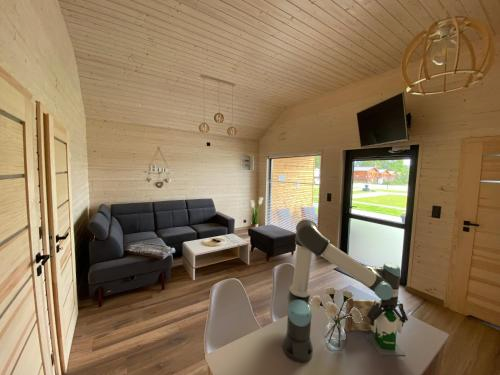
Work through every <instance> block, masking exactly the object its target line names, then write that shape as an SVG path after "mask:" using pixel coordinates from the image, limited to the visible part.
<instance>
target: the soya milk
mask: <svg viewBox="0 0 500 375" xmlns="http://www.w3.org/2000/svg"><path fill="white" fill-rule="evenodd" d="M382 309H383V308H382ZM399 319H400V318H399V317H398V316H397V315H396V313H395V312H394V311H392V310H386V311H385V312H383V313H382V314H381V315H380V316H379V317H378V318H377V320H376V332H375V333H374V334H375V339H376V341H377V343H378V344H379V346H380V347H381V349H389V350H395V347H396V344H397V333H398V331H397V323H398V320H399Z"/></svg>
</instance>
